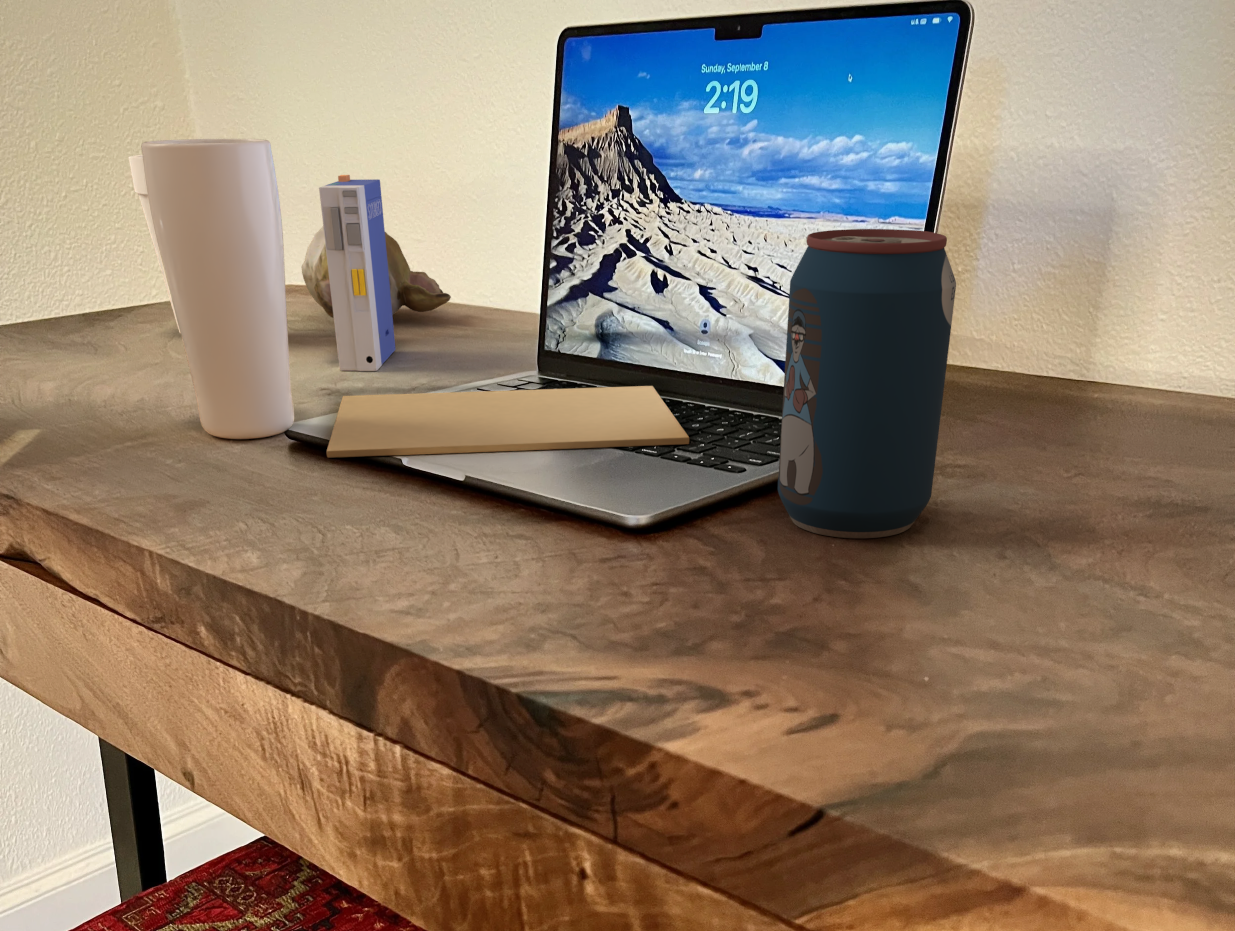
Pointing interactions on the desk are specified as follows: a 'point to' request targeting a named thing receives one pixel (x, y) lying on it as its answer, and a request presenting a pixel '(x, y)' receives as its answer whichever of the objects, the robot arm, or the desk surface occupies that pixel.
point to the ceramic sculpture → (404, 283)
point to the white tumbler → (225, 277)
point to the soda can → (864, 380)
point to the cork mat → (502, 421)
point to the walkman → (358, 272)
